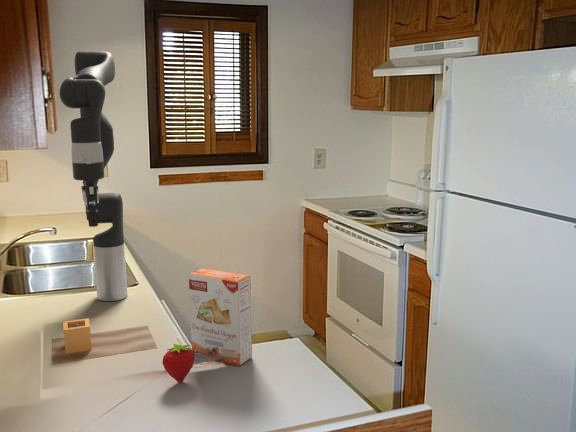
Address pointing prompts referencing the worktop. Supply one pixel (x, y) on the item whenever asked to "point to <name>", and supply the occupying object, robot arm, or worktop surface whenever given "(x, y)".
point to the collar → (77, 336)
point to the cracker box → (221, 315)
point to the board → (106, 344)
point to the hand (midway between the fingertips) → (92, 223)
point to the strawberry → (178, 361)
